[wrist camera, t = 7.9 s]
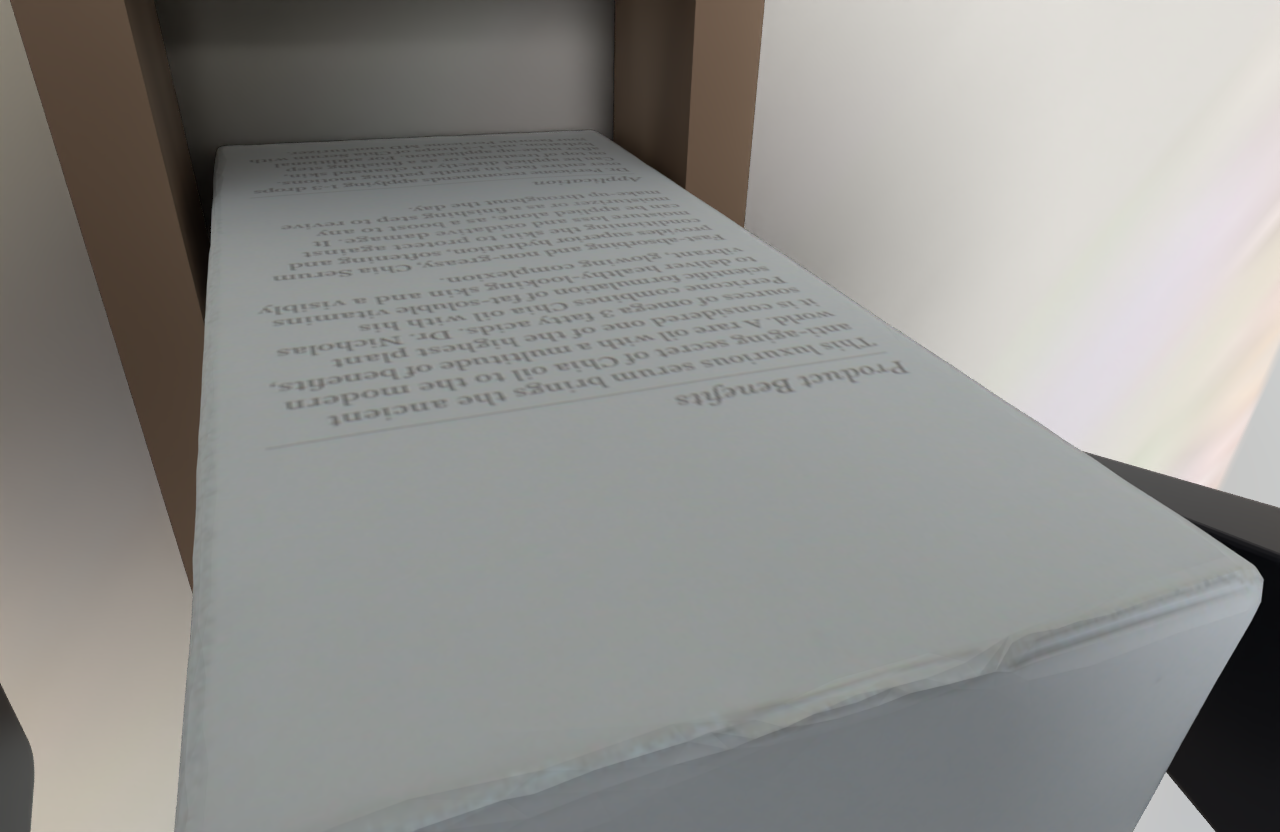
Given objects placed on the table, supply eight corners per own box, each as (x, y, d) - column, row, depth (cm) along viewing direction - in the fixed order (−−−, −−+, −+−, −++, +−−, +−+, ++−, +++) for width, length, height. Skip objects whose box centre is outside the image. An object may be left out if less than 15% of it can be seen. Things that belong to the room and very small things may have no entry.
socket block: (677, -93, 13) (772, -92, 11) (653, 473, 19) (713, 558, 16) (34, -116, 10) (-27, -122, 8) (222, 559, 16) (218, 678, 13)
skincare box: (264, 397, 15) (304, 1342, 5) (211, 139, 12) (107, 930, 3) (602, 351, 17) (1089, 963, 7) (607, 122, 14) (1313, 555, 5)
